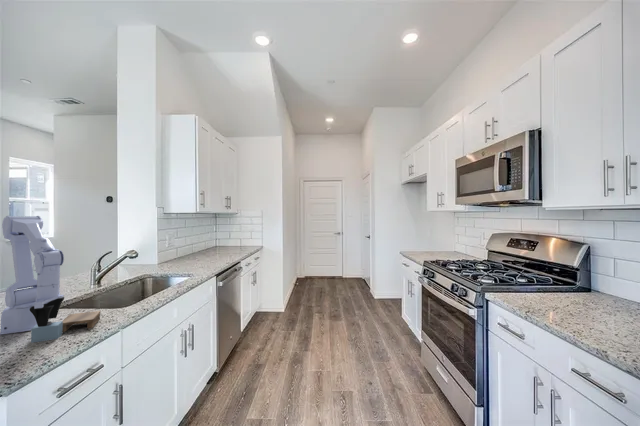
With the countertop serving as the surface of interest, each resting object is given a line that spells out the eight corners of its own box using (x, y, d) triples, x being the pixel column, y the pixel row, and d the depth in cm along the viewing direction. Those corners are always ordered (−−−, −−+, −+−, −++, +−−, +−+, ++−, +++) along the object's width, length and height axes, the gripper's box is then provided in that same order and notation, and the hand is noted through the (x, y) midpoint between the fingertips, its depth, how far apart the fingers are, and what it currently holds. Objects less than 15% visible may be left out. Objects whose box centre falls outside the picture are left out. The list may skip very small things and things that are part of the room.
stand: (59, 332, 100) (59, 323, 100) (69, 322, 109) (69, 314, 109) (93, 328, 105) (93, 319, 105) (100, 318, 113) (100, 310, 114)
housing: (30, 343, 92) (31, 326, 92) (36, 338, 96) (37, 322, 96) (57, 339, 95) (58, 323, 95) (62, 334, 99) (62, 319, 99)
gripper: (54, 288, 91) (53, 327, 91) (70, 278, 104) (70, 313, 104) (26, 290, 88) (25, 331, 88) (46, 280, 101) (45, 316, 101)
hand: (47, 322), depth 96 cm, fingers open, 7 cm apart
